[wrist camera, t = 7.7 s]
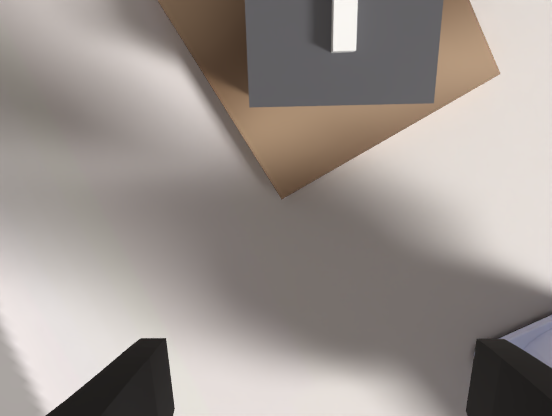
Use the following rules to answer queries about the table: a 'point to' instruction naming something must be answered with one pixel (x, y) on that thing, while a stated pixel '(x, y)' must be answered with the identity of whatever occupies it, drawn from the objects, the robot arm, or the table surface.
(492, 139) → the table surface
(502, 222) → the table surface
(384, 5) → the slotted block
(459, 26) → the block
